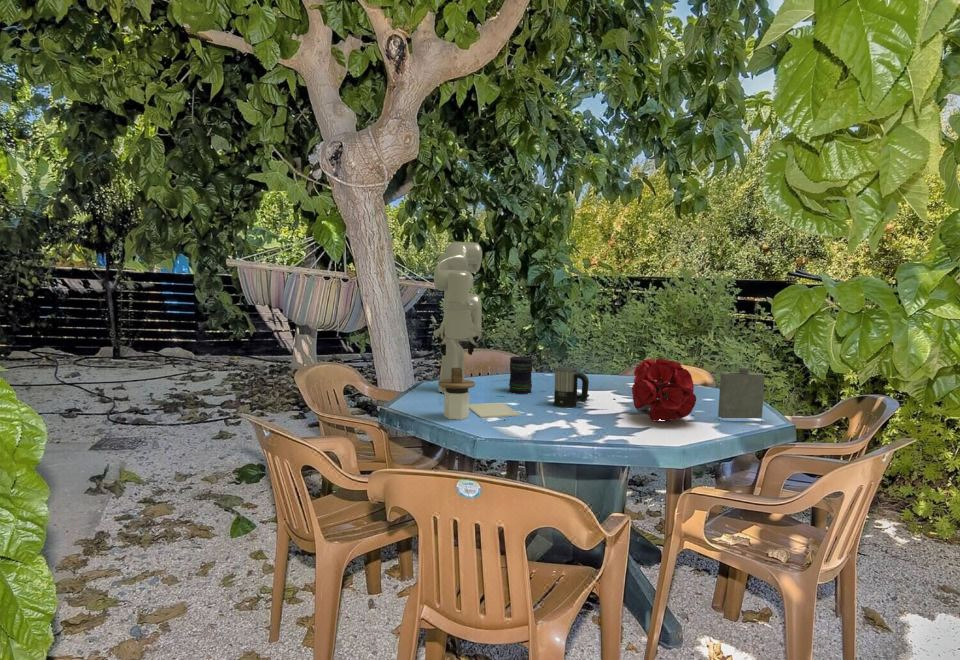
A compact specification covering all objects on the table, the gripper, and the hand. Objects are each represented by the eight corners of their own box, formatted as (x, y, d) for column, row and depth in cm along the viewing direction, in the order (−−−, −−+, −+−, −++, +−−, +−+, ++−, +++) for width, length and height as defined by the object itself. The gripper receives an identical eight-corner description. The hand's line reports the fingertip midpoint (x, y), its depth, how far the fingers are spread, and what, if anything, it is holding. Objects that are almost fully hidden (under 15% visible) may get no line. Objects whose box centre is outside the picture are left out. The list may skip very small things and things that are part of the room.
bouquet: (617, 430, 234) (647, 407, 207) (614, 372, 244) (641, 342, 217) (672, 434, 236) (708, 412, 209) (666, 376, 246) (700, 347, 219)
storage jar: (509, 389, 274) (510, 356, 272) (531, 390, 273) (532, 357, 271) (508, 393, 264) (509, 359, 262) (531, 394, 263) (532, 360, 261)
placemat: (465, 405, 240) (465, 404, 239) (502, 404, 244) (502, 402, 244) (480, 418, 221) (480, 416, 220) (520, 416, 225) (520, 414, 225)
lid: (434, 382, 224) (435, 366, 223) (469, 381, 228) (469, 365, 227) (442, 389, 212) (443, 372, 211) (479, 388, 215) (479, 371, 215)
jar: (441, 415, 224) (441, 382, 222) (461, 413, 227) (462, 381, 226) (450, 421, 215) (451, 387, 214) (471, 419, 219) (472, 385, 218)
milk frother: (552, 407, 241) (553, 369, 240) (554, 398, 256) (555, 363, 255) (589, 409, 239) (590, 371, 237) (588, 400, 254) (590, 365, 253)
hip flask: (759, 419, 228) (763, 366, 226) (764, 422, 224) (768, 368, 222) (716, 419, 228) (719, 365, 225) (720, 421, 223) (724, 367, 221)
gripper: (478, 305, 223) (477, 352, 225) (431, 305, 218) (430, 353, 220) (484, 307, 216) (483, 355, 218) (436, 307, 211) (435, 357, 213)
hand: (457, 354), depth 219 cm, fingers open, 9 cm apart
